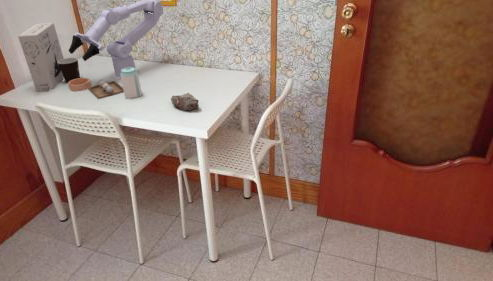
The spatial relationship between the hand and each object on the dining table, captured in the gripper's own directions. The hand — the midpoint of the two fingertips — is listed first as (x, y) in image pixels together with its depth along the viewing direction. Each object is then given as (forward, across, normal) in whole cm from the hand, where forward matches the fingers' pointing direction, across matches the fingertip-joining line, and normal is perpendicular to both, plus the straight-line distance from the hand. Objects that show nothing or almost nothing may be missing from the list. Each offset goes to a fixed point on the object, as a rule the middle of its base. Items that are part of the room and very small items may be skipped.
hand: (76, 55), depth 163 cm
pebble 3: (+6, +19, +8) cm, 21 cm away
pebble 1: (+4, +11, +12) cm, 17 cm away
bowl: (+9, +2, +13) cm, 16 cm away
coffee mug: (+6, -8, +19) cm, 22 cm away
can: (+2, +29, +7) cm, 30 cm away
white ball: (+5, +15, +10) cm, 19 cm away
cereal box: (+12, -16, +18) cm, 26 cm away
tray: (+5, +15, +10) cm, 19 cm away
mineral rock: (-3, +54, +1) cm, 54 cm away
